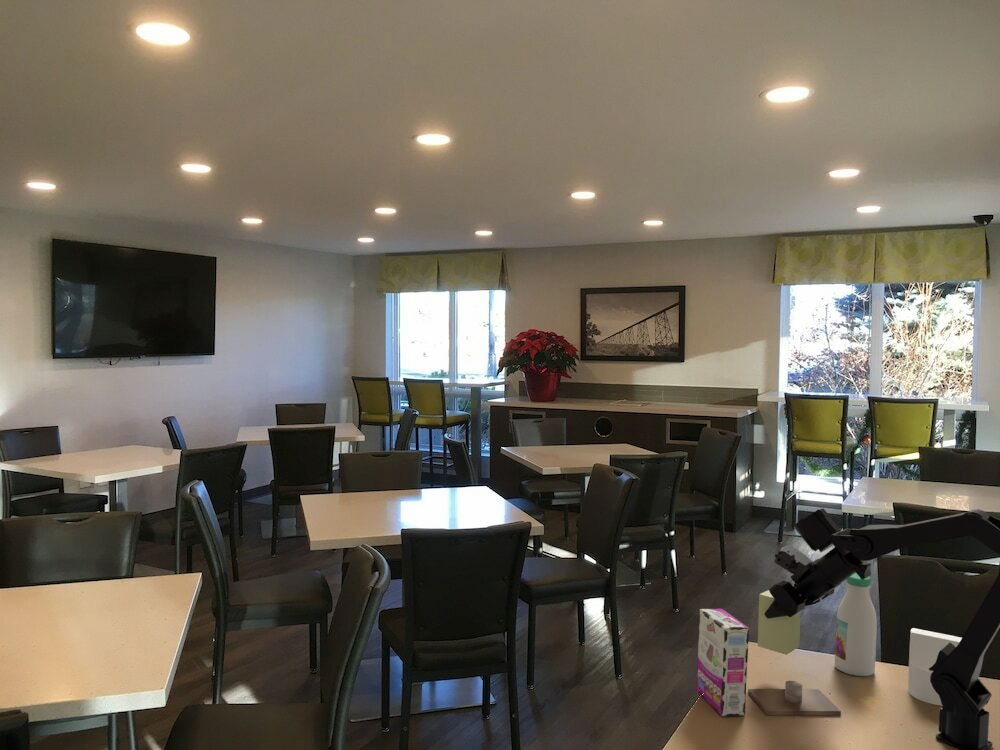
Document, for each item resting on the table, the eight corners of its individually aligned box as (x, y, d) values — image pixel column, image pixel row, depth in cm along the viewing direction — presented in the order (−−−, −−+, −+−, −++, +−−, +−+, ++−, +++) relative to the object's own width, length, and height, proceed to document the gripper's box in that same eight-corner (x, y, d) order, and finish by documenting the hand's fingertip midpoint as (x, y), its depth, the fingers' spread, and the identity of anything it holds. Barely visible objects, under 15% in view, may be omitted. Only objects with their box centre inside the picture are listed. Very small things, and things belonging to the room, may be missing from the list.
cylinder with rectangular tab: (961, 693, 154) (964, 633, 153) (958, 710, 146) (961, 647, 146) (910, 681, 159) (913, 623, 158) (905, 697, 151) (908, 636, 151)
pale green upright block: (799, 646, 157) (801, 595, 157) (786, 654, 153) (788, 601, 153) (770, 638, 161) (772, 588, 161) (757, 646, 157) (759, 594, 157)
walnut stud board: (818, 693, 152) (819, 674, 152) (840, 715, 143) (841, 695, 143) (748, 692, 151) (748, 673, 151) (766, 715, 142) (766, 694, 142)
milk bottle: (877, 668, 165) (881, 575, 164) (871, 680, 158) (875, 583, 157) (838, 659, 169) (842, 568, 168) (830, 671, 163) (835, 576, 162)
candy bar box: (747, 716, 142) (750, 627, 141) (721, 718, 141) (725, 628, 140) (719, 689, 153) (722, 606, 152) (695, 690, 152) (698, 607, 151)
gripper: (821, 528, 160) (768, 570, 168) (781, 543, 147) (725, 587, 155) (859, 575, 155) (802, 615, 163) (821, 595, 142) (761, 637, 150)
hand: (773, 612), depth 158 cm, fingers closed on pale green upright block, 6 cm apart
